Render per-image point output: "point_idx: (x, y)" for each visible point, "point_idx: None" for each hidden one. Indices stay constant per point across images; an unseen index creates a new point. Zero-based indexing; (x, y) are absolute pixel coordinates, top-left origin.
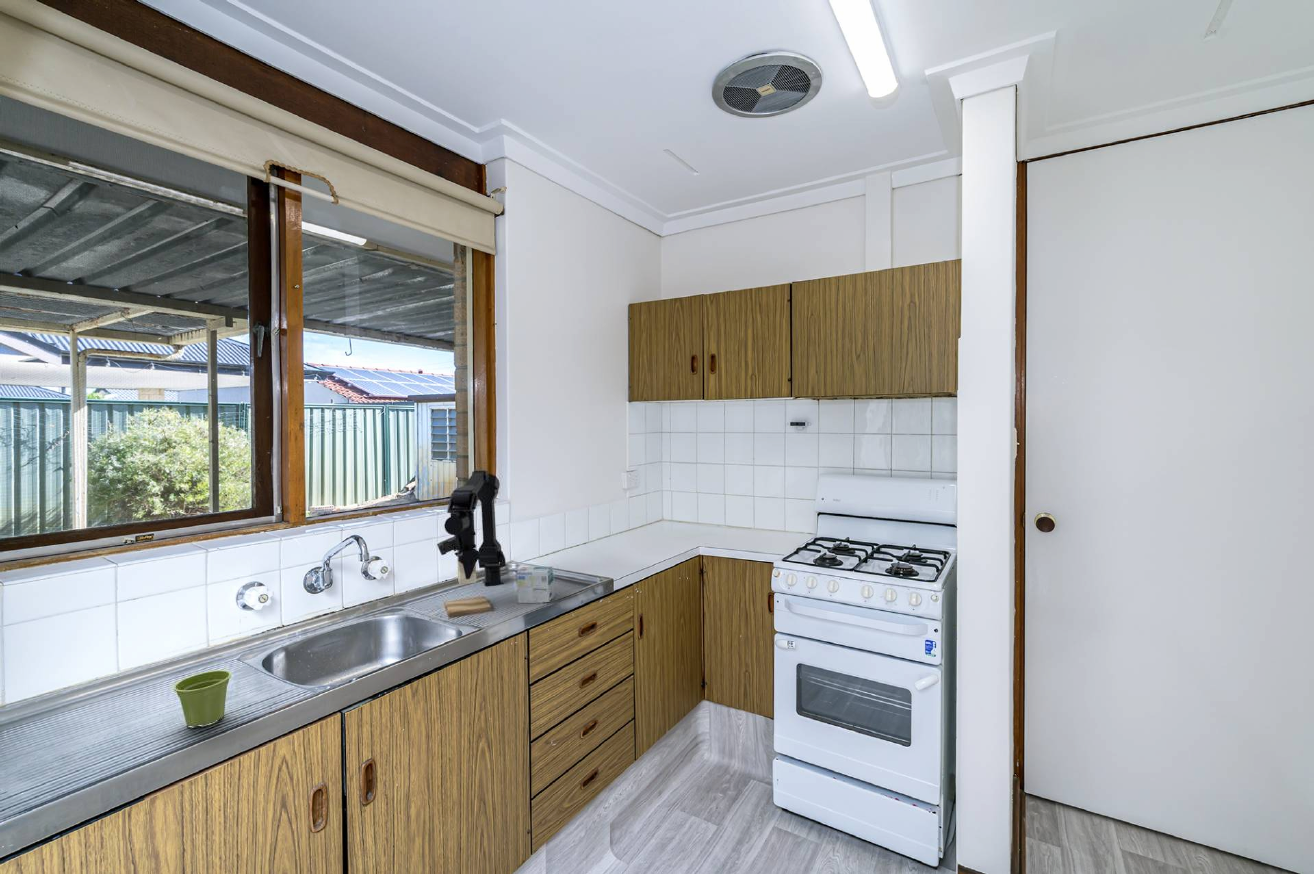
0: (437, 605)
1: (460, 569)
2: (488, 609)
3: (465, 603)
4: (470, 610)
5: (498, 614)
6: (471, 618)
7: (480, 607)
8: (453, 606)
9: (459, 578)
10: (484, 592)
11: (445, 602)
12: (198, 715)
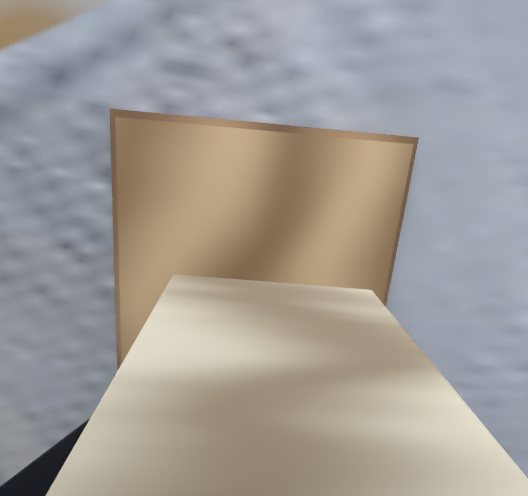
0: (457, 95)
1: (96, 433)
2: (120, 357)
3: (281, 261)
4: (120, 260)
5: (47, 383)
6: (41, 240)
7: (136, 325)
8: (260, 175)
9: (196, 307)
10: (509, 403)
11: (403, 143)
12: None
